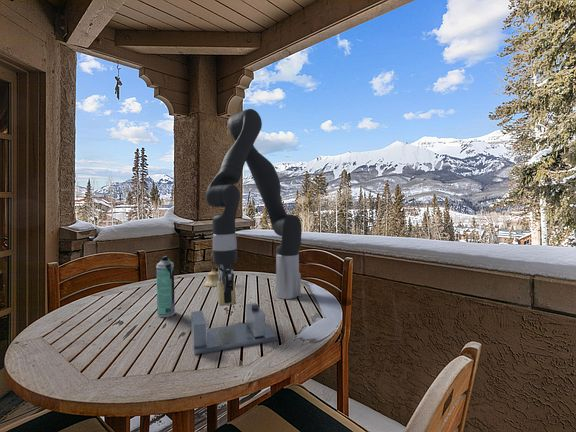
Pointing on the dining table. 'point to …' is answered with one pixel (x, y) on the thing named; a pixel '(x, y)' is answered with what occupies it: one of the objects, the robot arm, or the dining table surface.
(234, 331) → the vise
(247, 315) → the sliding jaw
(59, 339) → the dining table surface
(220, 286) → the block
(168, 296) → the spray can
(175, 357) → the dining table surface
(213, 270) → the hand bell
